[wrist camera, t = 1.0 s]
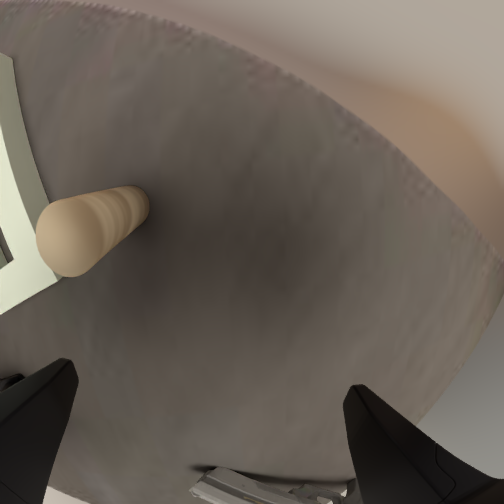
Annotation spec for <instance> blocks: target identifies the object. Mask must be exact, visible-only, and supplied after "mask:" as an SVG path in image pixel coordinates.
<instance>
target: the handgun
mask: <svg viewBox="0 0 504 504" xmlns="http://www.w3.org/2000/svg"><path fill="white" fill-rule="evenodd" d="M189 491H190V492H191V493H192V495H193V496H195V497H200V498H202V499H205V500H207V501H209V502H211V503H213V504H320V503H319V502H318V501H317V496H320V497H324V498H327V499H331V500H332V502H333V504H363V502H362V497H361V493H360V489H359V485H358V481H357V478H355V479H353V480H352V481H351V482H350V483H348V484H347V494H346V497H344V496H341V495H340V494H339V493H336V492H332V491H328V490H325V489H321V488H318V487H315V486H311V485H308V484H304V485H303V486H301V487H300V488H299V489H292V490H290V491H289V492H288V493H287V492H285V491H282V490H279V489H276V488H274V487H271V486H268V485H266V484H263V483H261V482H258V481H256V480H253V479H250V478H247V477H245V476H243V475H241V474H238V473H236V472H234V471H232V470H230V469H227V468H222V467H217V468H216V469H214V470H208V471H207V472H206V473H205V474H204V475H203V476H202V477H201V478H200V479H199V480H198V482H197V484H196V485H194V486H193V487H192V488H191V489H190V490H189Z"/></svg>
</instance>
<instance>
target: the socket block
mask: <svg viewBox="0 0 504 504" xmlns="http://www.w3.org/2000/svg"><path fill="white" fill-rule="evenodd" d="M49 204H50V203H49V201H48V198H47V196H46V193H45V190H44V187H43V185H42V182H41V179H40V176H39V173H38V170H37V167H36V164H35V161H34V158H33V155H32V151H31V148H30V144H29V141H28V137H27V133H26V130H25V126H24V122H23V117H22V113H21V108H20V104H19V99H18V93H17V88H16V82H15V75H14V68H13V60H12V58H10V57H8V56H6V55H4V54H2V53H0V227H1V229H2V232H3V234H4V237H5V239H6V242H7V244H8V246H9V249H10V251H11V253H12V255H13V258H14V260H13V261H11V262H10V263H9V264H8V263H7V260H6V258H5V256H4V254H3V251H2V249H1V247H0V315H1V314H2V313H4V312H6V311H7V310H9V309H10V308H12V307H14V306H15V305H17V304H19V303H20V302H22V301H24V300H26V299H27V298H29V297H31V296H32V295H34V294H36V293H38V292H39V291H41V290H43V289H45V288H46V287H48V286H50V285H52V284H54V283H55V282H57V281H59V280H60V279H61V278H62V277H63V276H62V275H59V274H57V273H55V272H54V271H53V270H51V269H50V268H49V267H48V266H47V265H46V264H45V262H44V261H43V259H42V257H41V256H40V253H39V251H38V248H37V243H36V226H37V222H38V219H39V217H40V215H41V213H42V212H43V210H44V209H45V208H46V207H47V206H48V205H49Z"/></svg>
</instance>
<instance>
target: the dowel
mask: <svg viewBox="0 0 504 504" xmlns="http://www.w3.org/2000/svg"><path fill="white" fill-rule="evenodd" d="M149 209H150V205H149V200H148V197H147V195H146V194H145V192H144V191H143V190H142V189H140V188H139V187H136V186H132V185H127V186H122V187H116V188H111V189H106V190H101V191H97V192H92V193H87V194H83V195H78V196H74V197H70V198H66V199H61V200H57V201H55V202H53V203H51V204H49V205H48V206H47V207H46V208H45V209H44V210H43V212H42V213H41V215H40V217H39V219H38V222H37V226H36V243H37V248H38V251H39V253H40V256H41V257H42V259H43V261H44V262H45V264H46V265H47V266H48V267H49V268H50V269H51V270H53V271H54V272H55V273H57V274H59V275H62V276H65V277H76V276H80V275H82V274H84V273H86V272H87V271H88V270H89V269H90V268H91V267H92V266H94V265H95V264H96V263H97V262H98V261H99V260H100V259H101V258H102V257H103V256H105V255H106V254H107V253H108V252H109V251H110V250H111V249H112V248H114V247H115V246H116V245H117V244H118V243H119V242H120V241H122V240H123V239H124V238H125V237H126V236H127V235H129V234H130V233H131V232H132V231H133V230H134V229H136V228H137V227H138V226H139V225H140V224H142V223H143V222H144V221H145V219H146V218H147V216H148V213H149Z"/></svg>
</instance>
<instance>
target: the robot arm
mask: <svg viewBox="0 0 504 504" xmlns="http://www.w3.org/2000/svg"><path fill="white" fill-rule="evenodd" d="M78 383H79V379H78V375H77V372H76V370H75V367H74V364H73V362H72V361H71V360H69V359H65V358H59V359H58V360H56V361H54V362H52V363H51V364H49V365H47V366H45V367H44V368H42V369H40V370H39V371H37V372H35V373H33V374H32V375H30V376H28V377H27V378H25V379H24V377H23V376H22V375H20V374H17V375H14V376H11V377H8V378H5V379H2V380H0V504H43V499H44V495H45V492H46V488H47V484H48V481H49V477H50V474H51V471H52V467H53V464H54V461H55V458H56V455H57V452H58V449H59V446H60V443H61V440H62V437H63V434H64V431H65V429H66V426H67V423H68V420H69V417H70V413H71V409H72V405H73V401H74V398H75V394H76V391H77V387H78ZM343 410H344V417H345V424H346V431H347V439H348V445H349V449H350V453H351V457H352V461H353V465H354V469H355V473H356V477H357V481H358V485H359V489H360V493H361V497H362V502H363V504H504V479H497V478H493V477H490V476H488V475H486V474H484V473H482V472H481V471H479V470H477V469H475V468H474V467H472V466H470V465H468V464H467V463H465V462H463V461H462V460H460V459H459V458H457V457H455V456H454V455H453V454H451V453H450V452H448V451H447V450H445V449H444V448H443V447H442V446H440V445H439V444H438V443H436V442H435V441H434V440H432V439H431V438H430V437H429V436H427V435H426V434H425V433H423V432H422V431H421V430H420V429H418V428H417V427H416V426H415V425H413V424H412V423H411V422H410V421H408V420H407V419H406V418H405V417H403V416H402V415H401V414H400V413H398V412H397V411H396V410H395V409H393V408H392V407H391V406H390V405H388V404H387V403H386V402H385V401H383V400H382V399H381V398H380V397H379V396H377V395H376V394H375V393H374V392H372V391H371V390H370V389H369V388H368V387H366V386H365V385H363V384H359V385H352V386H351V387H350V389H349V391H348V393H347V395H346V397H345V400H344V402H343Z"/></svg>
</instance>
